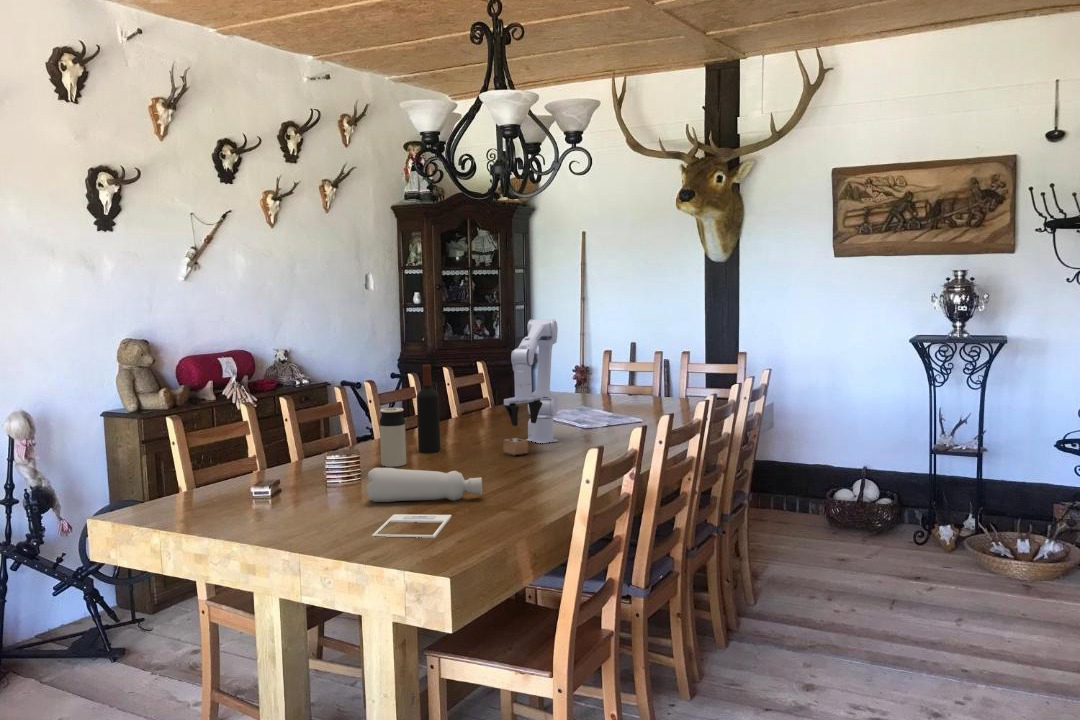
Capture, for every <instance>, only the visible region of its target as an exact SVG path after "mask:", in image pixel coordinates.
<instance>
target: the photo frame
mask: <svg viewBox="0 0 1080 720" xmlns="http://www.w3.org/2000/svg"><path fill="white" fill-rule="evenodd" d="M452 517H453V516H452V514H397V513H395V514H394V513H393V514H392V516H390V517H389V518H388V519H387V520H386V521H385V522H384V523H383V524H382V525H381V526H380V527H379V528H378V529H377V530H376V531H375V532H374V533H372V535H371V537H372V536H386V537H416V538H415V539H435V538H437V536H438V535H439V534H440V532H441V530H443V529H444V527H445V526H446V524H448V522H449V521H450V519H452ZM389 522H390V523H414V522H417V523H419V524H420V523H423V524H425V523H426V524H429V523H431V524H433V523H435V524H436V523H438V524H440V523H441V524H440V525H439V527H438V528H437V529H436V530H435V532H434V533H433V534H387V533H385V534H380V533H379V534H378V532H379V531H381V530H382V529H383V528H384V527H385V526H386V525H387V524H388V523H389ZM390 523H389V524H390ZM389 524H388V525H389ZM388 525H387V526H388ZM387 526H386V527H387ZM386 527H385V528H386ZM385 528H384V529H385ZM384 529H383V530H384ZM383 530H382V531H383ZM382 531H381V532H382ZM418 537H420V538H418ZM421 537H422V538H421Z"/></svg>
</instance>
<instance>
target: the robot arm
mask: <svg viewBox="0 0 1080 720" xmlns="http://www.w3.org/2000/svg"><path fill="white" fill-rule="evenodd" d="M526 330H527V336H525V337H524V338H522V340H521V342H520V344H519V346H518V347H517V348H514V350H511V354H510V355H511V356H510V357H511V358H510V360H511V365H512V371H513V378H514V379H513V380H514V396H513V397H509V398H504V399H503V406H504V408H505V409H506V411H507V414H508V416H509V417H510V421H511V426H514V427H517V426H518V415H519V414H518V413H519V408H520V406H518V404H526V403H527V412H528V414H529V416H530V418H529V420H528V422H527V438H526V439H525V440H527V441H528V442H531V441H532V442H531V443H535V442H536V444H540V443H541V444H542V443H543V444H547V443H549V442H550V443H554V442H559V439H556V438H554V417H555V416H556V415H557V414H558V408H559V405H558V397H557V395H556V394H555V393H554V392H553V391H552V390H551V373H552V353H553V352H552V351H553V345H555V344H557V342H558V331H559V330H558V323H557V321H556V319H555V318H552V319H529V320H528V322H527V329H526ZM537 349H538V354H537V356H538V358H537V371H536V372H537V374H536V375H537V376H536V389H535V390H534V391H533V387H532V386H533V384H532V365H533V364H534V358H535V352H536V350H537ZM532 391H533V392H532ZM541 444H540V445H541Z"/></svg>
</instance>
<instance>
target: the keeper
mask: <svg viewBox="0 0 1080 720" xmlns="http://www.w3.org/2000/svg"><path fill="white" fill-rule="evenodd" d="M518 439H519V438H518ZM518 439H513V441H514V442H518ZM504 453H505V455H506V454H507V455H506V456H510V455H512V456H511V457H517V456H516V455H519V456H523V455H522V454H526V455H527V453H522V454H511V453H507V452H504Z"/></svg>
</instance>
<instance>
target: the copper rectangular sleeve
mask: <svg viewBox="0 0 1080 720" xmlns="http://www.w3.org/2000/svg"><path fill="white" fill-rule="evenodd" d="M513 439H518V442H514V441H513ZM502 443H503V444H502V445H503V446H502V447H503V448H502V449H503V452H504V453H505V452H507V453H511V454H522V453H526V454H527V453H528V454H529V441H527V440H526V439H524V438H523V439H522V438H517V437H513V438H505V439H503V440H502Z"/></svg>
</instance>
